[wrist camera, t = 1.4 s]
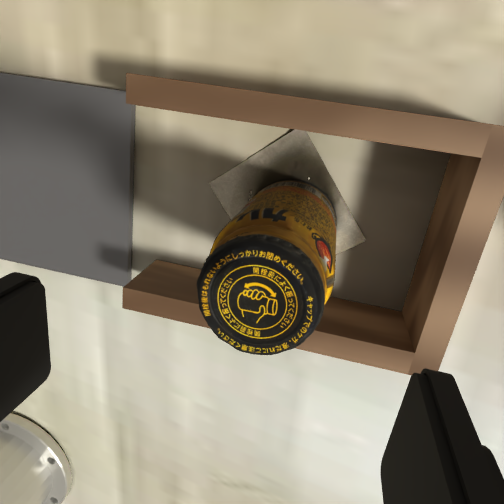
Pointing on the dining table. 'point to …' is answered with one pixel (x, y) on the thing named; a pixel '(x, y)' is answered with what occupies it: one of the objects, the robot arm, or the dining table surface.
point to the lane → (434, 246)
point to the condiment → (275, 248)
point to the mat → (66, 177)
